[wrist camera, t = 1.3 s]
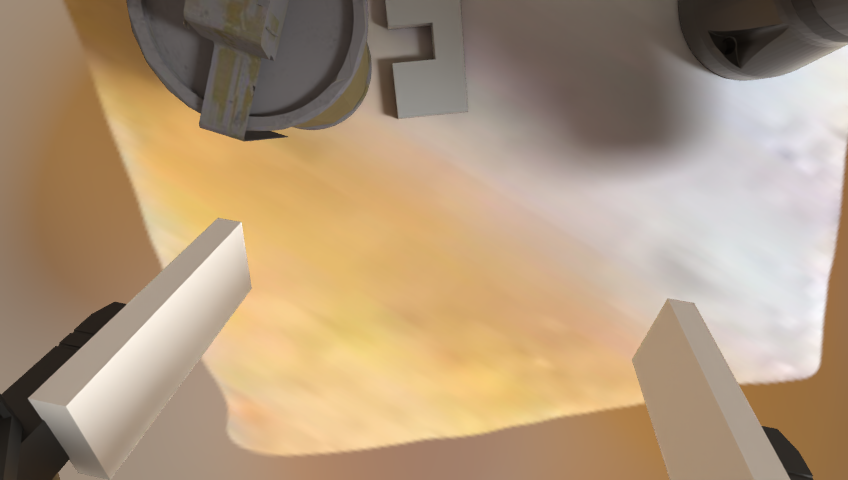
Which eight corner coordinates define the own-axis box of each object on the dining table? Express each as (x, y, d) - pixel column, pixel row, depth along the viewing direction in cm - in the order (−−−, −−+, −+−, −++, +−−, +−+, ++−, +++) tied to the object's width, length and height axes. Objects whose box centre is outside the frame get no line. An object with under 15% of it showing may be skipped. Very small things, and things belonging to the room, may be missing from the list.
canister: (259, -25, 34) (107, -226, 15) (386, 23, 36) (399, -99, 17) (229, 111, 36) (63, 93, 17) (350, 150, 38) (325, 173, 19)
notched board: (454, -36, 35) (457, -42, 34) (465, 112, 38) (468, 111, 37) (381, -31, 35) (381, -36, 34) (397, 118, 38) (398, 118, 37)
